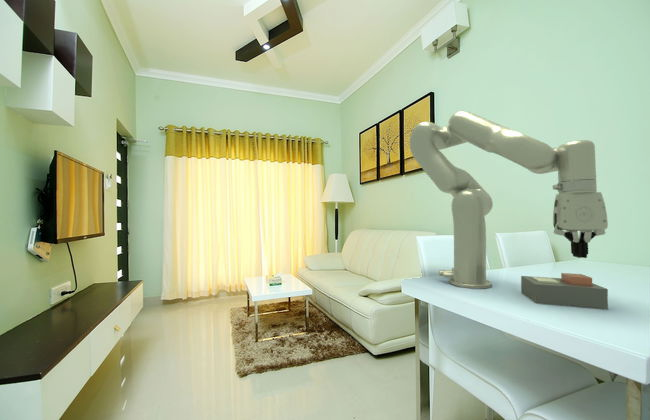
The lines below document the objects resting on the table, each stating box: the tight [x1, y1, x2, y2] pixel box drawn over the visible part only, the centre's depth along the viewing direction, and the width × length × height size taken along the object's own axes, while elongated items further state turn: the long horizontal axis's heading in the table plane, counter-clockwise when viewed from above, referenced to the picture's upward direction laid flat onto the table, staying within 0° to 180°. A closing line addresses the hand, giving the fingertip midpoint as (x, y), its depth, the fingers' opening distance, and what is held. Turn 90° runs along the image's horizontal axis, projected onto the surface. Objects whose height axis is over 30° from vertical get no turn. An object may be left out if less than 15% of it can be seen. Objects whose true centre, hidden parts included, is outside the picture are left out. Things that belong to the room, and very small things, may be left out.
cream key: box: [532, 276, 559, 284], centre depth 77 cm, size 5×5×3 cm
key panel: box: [520, 275, 609, 310], centre depth 75 cm, size 15×10×5 cm, turn 73°
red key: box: [560, 272, 593, 286], centre depth 74 cm, size 5×5×3 cm
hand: (579, 257), depth 74 cm, fingers closed
